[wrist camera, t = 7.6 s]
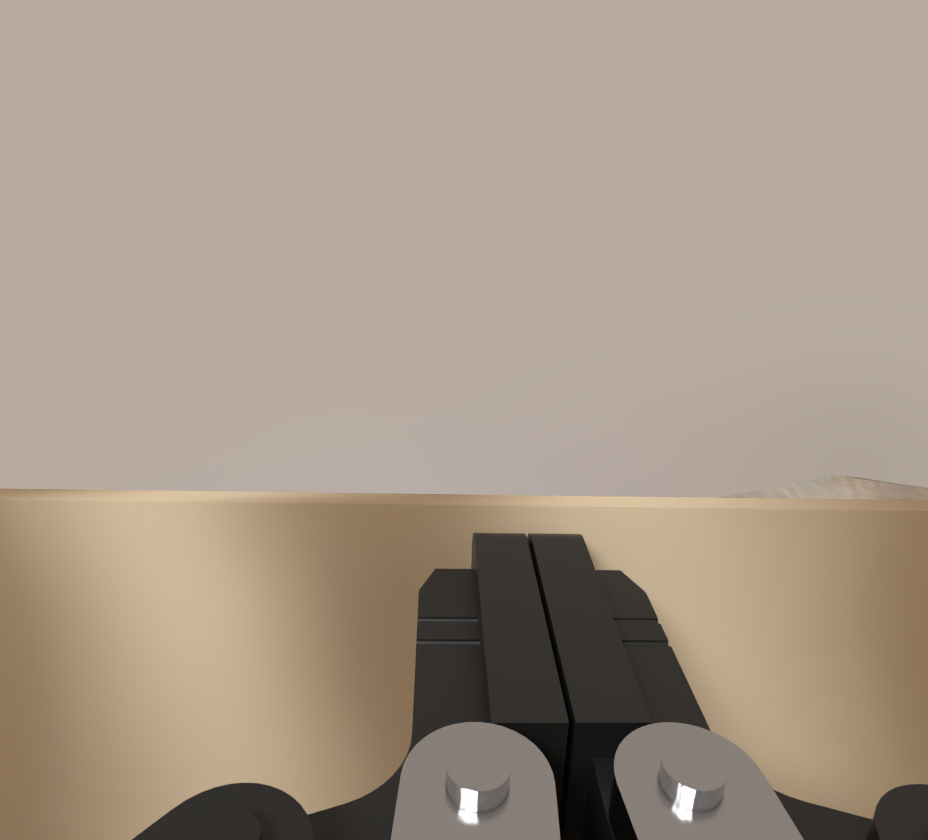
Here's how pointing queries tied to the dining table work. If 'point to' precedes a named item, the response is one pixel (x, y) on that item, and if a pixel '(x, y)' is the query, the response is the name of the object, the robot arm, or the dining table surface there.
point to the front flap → (395, 632)
